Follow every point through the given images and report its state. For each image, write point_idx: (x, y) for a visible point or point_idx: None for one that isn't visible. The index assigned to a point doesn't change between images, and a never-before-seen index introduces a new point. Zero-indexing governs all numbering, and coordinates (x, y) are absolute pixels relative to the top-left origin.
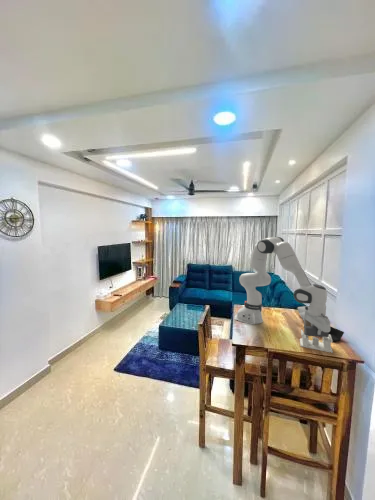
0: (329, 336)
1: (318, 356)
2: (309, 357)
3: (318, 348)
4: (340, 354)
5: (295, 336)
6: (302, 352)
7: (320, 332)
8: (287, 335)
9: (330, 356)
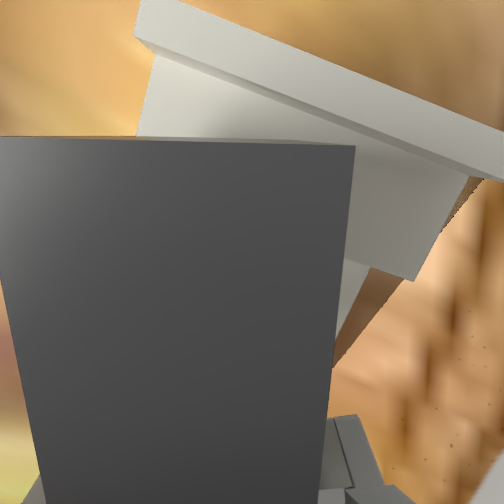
0: (293, 98)
1: (475, 356)
2: (485, 448)
3: (339, 302)
4: (452, 24)
5: (6, 416)
6: (388, 473)
7: (376, 473)
8: (9, 488)
9: (489, 215)
